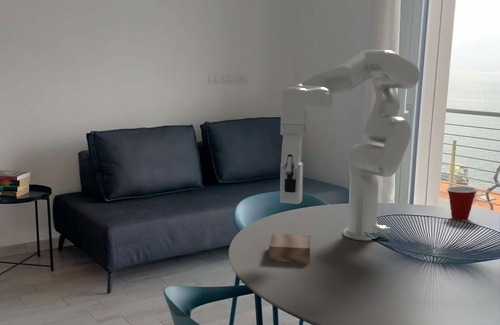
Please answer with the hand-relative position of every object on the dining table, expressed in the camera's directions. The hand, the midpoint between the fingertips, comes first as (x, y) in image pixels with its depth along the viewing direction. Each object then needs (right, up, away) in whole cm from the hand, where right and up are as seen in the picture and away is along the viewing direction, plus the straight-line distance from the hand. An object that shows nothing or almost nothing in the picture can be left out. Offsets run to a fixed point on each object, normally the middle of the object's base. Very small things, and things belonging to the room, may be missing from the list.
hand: (291, 189), depth 162 cm
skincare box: (0, -4, +1) cm, 4 cm away
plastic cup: (+68, -14, +45) cm, 82 cm away
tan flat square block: (0, -21, +4) cm, 21 cm away
